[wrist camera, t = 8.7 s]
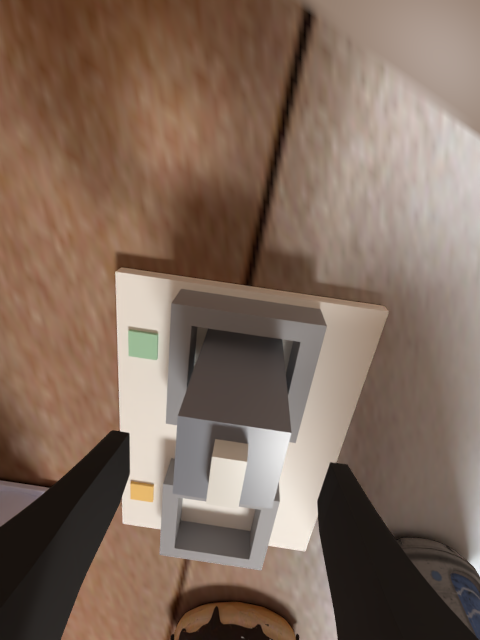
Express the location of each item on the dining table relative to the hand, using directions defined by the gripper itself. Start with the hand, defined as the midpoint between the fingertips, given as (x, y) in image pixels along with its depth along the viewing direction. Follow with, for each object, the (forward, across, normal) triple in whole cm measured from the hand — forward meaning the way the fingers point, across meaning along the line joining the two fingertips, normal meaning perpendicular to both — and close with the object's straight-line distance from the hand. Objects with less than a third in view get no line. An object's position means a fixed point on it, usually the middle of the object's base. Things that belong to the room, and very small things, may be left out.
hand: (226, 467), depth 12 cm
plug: (+7, 0, 0) cm, 7 cm away
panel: (+8, 0, +6) cm, 10 cm away
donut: (+9, -3, +31) cm, 32 cm away
